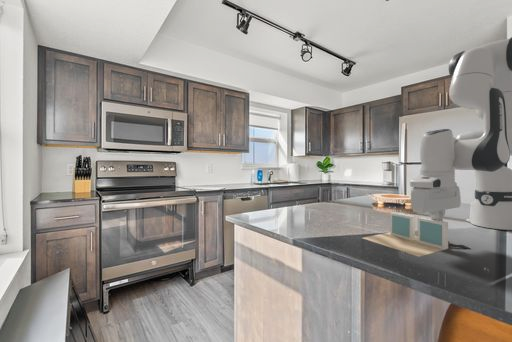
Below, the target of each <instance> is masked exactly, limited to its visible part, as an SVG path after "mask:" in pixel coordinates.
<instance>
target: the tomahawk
mask: <svg viewBox="0 0 512 342" xmlns="http://www.w3.org/2000/svg"><path fill="white" fill-rule="evenodd" d="M448 246H453V247H452V248H459V249H460V248H461V249H468V250H471V249H472V248H471V247H469V246H466V245H464V244H455V243H453V242H450V241H449V240H448Z"/></svg>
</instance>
